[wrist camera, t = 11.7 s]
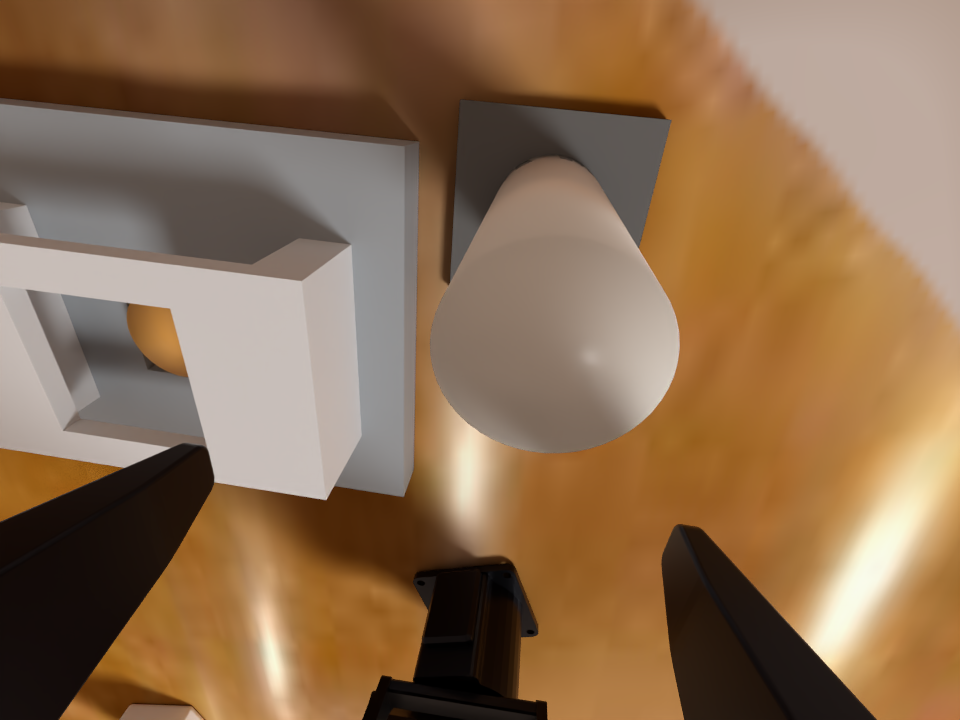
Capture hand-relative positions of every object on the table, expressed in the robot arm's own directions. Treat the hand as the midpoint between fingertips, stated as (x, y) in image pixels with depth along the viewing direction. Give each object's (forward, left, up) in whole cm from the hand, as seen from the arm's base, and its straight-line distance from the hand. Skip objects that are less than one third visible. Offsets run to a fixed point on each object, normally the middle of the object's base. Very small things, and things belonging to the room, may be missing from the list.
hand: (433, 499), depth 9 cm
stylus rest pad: (+2, -3, -12) cm, 13 cm away
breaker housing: (+2, +13, -12) cm, 18 cm away
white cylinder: (+2, -3, -12) cm, 12 cm away
